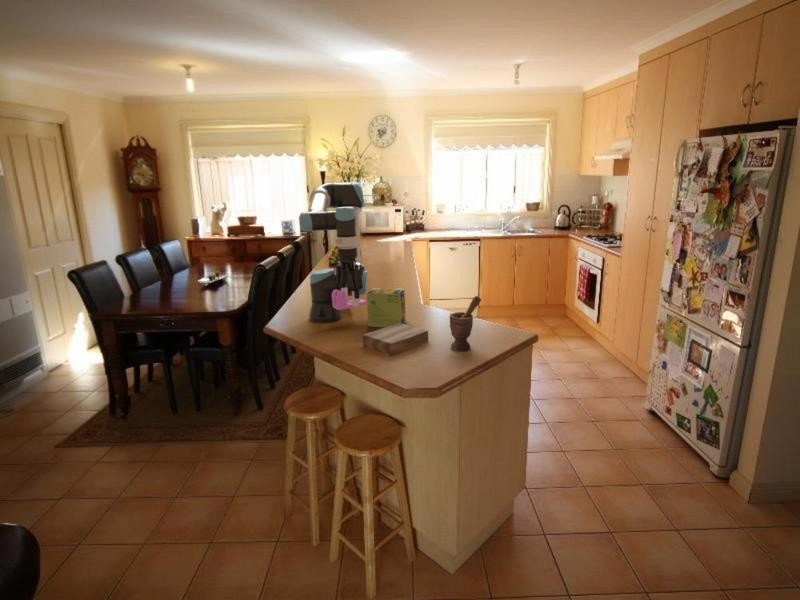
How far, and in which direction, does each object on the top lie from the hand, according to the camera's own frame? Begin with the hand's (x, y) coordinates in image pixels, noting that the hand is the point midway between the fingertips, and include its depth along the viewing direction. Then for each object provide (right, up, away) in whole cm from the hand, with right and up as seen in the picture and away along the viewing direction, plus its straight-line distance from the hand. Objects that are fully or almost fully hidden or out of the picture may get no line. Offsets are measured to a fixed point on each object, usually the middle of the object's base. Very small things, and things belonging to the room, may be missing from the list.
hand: (350, 304), depth 190 cm
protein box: (+14, -9, +24) cm, 30 cm away
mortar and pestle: (+44, -16, -8) cm, 48 cm away
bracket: (0, -1, 0) cm, 1 cm away
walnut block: (+18, -16, -3) cm, 24 cm away
